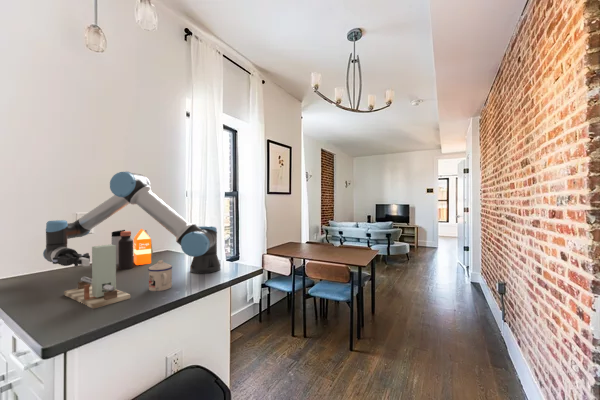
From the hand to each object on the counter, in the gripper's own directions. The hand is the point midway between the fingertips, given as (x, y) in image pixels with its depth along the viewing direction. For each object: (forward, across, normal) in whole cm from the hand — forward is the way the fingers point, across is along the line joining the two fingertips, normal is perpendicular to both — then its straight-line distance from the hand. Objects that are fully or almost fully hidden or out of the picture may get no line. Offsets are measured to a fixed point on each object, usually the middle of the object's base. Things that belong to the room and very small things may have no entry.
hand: (87, 262), depth 112 cm
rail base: (+8, 0, -12) cm, 15 cm away
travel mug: (-43, -31, -12) cm, 54 cm away
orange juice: (-36, -40, -12) cm, 55 cm away
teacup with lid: (+21, -19, -12) cm, 30 cm away
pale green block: (+15, 0, -10) cm, 18 cm away
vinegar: (-30, -29, -12) cm, 43 cm away
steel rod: (+8, 0, -8) cm, 12 cm away
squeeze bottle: (-47, -49, -12) cm, 69 cm away
